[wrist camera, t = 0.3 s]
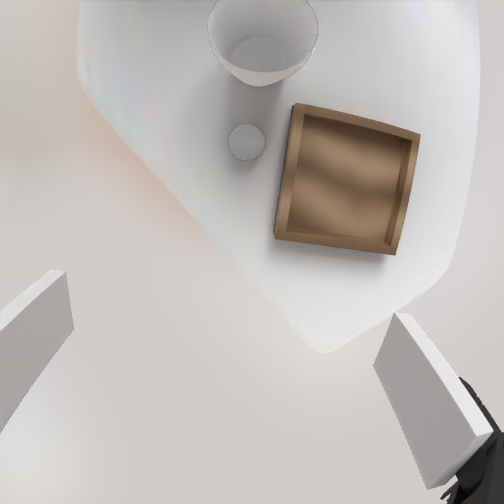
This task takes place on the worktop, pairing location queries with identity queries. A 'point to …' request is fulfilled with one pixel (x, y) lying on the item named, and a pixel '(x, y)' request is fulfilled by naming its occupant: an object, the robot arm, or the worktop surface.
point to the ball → (246, 142)
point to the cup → (262, 38)
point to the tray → (345, 181)
